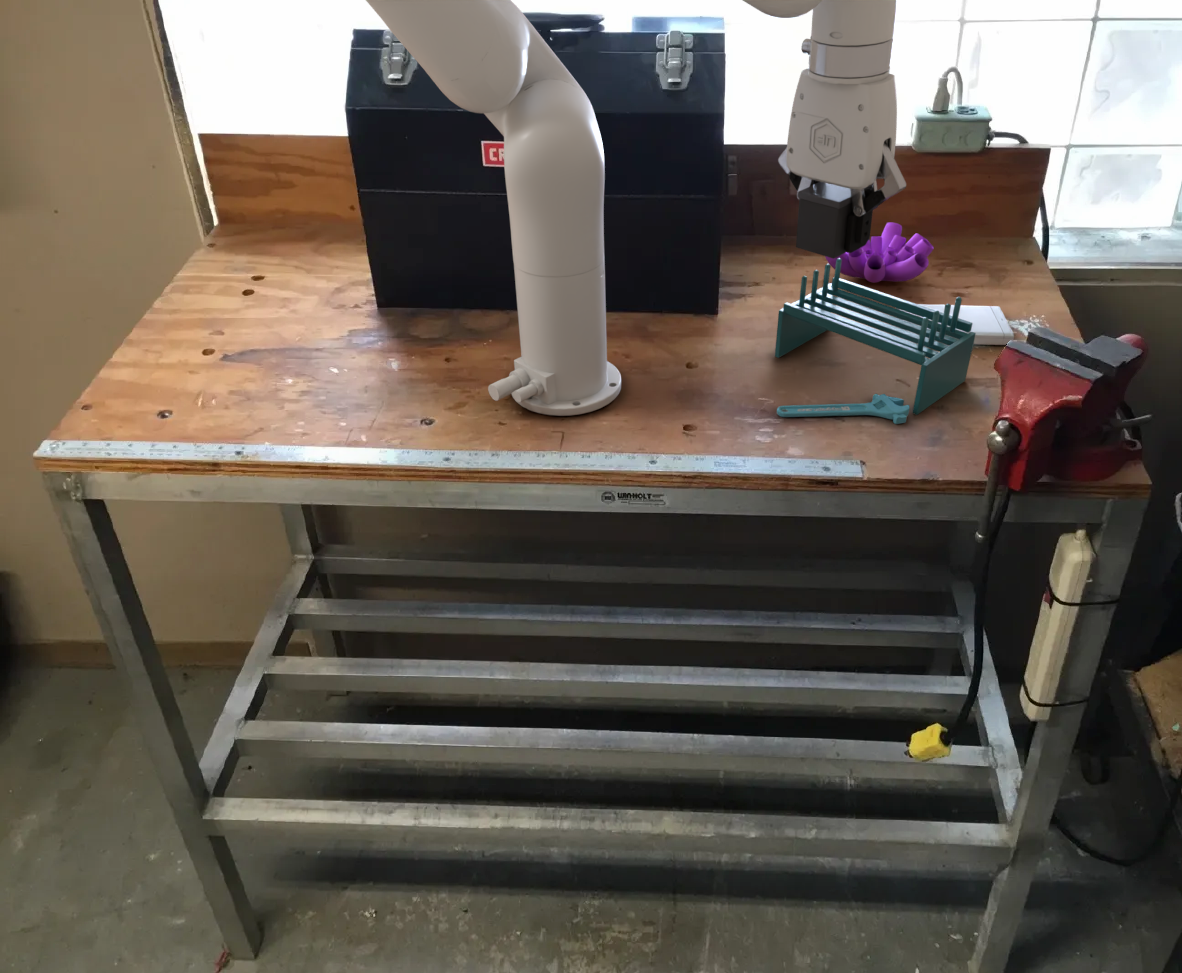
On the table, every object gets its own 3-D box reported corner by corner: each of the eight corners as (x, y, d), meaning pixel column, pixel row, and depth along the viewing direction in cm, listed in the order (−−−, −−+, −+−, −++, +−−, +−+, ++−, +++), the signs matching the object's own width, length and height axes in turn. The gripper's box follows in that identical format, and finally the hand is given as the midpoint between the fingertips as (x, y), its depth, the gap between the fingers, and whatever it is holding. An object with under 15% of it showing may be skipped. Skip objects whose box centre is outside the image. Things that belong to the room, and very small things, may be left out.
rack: (917, 415, 105) (933, 328, 99) (774, 356, 117) (781, 275, 110) (965, 380, 111) (983, 297, 105) (824, 327, 122) (834, 249, 116)
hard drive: (906, 332, 117) (1015, 334, 116) (896, 302, 124) (999, 303, 122) (904, 344, 118) (1012, 346, 117) (894, 314, 124) (996, 315, 123)
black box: (834, 259, 101) (839, 202, 97) (794, 247, 104) (798, 191, 100) (871, 239, 104) (877, 183, 101) (831, 228, 107) (836, 173, 104)
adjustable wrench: (903, 391, 107) (915, 415, 103) (901, 399, 108) (913, 423, 104) (774, 394, 107) (781, 419, 103) (773, 402, 108) (780, 426, 104)
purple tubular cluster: (925, 299, 135) (958, 263, 126) (823, 313, 132) (849, 277, 123) (901, 227, 138) (932, 187, 129) (801, 240, 135) (825, 200, 126)
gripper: (753, 54, 96) (747, 233, 107) (907, 79, 86) (883, 274, 97) (800, 39, 100) (789, 213, 111) (952, 61, 90) (924, 250, 101)
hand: (833, 239), depth 104 cm, fingers closed on black box, 4 cm apart
